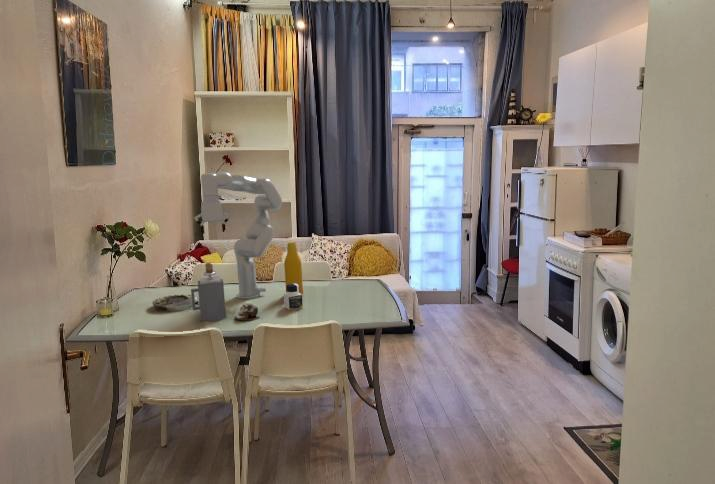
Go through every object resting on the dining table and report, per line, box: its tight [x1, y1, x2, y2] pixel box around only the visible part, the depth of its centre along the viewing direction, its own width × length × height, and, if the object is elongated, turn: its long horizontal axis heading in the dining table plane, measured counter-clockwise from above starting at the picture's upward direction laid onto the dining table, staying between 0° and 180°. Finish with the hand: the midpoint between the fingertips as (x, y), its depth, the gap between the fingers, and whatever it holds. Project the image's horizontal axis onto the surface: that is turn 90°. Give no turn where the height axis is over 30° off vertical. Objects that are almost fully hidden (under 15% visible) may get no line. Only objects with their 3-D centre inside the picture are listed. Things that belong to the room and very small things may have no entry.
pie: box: [152, 294, 200, 313], centre depth 286 cm, size 28×27×5 cm
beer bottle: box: [283, 241, 304, 295], centre depth 297 cm, size 9×9×29 cm
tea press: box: [190, 275, 227, 323], centre depth 261 cm, size 15×12×19 cm
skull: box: [234, 301, 261, 321], centre depth 261 cm, size 12×10×10 cm
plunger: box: [203, 262, 217, 284], centre depth 260 cm, size 8×8×23 cm
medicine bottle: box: [283, 283, 304, 311], centre depth 274 cm, size 7×7×12 cm
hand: (213, 232), depth 276 cm, fingers open, 9 cm apart
